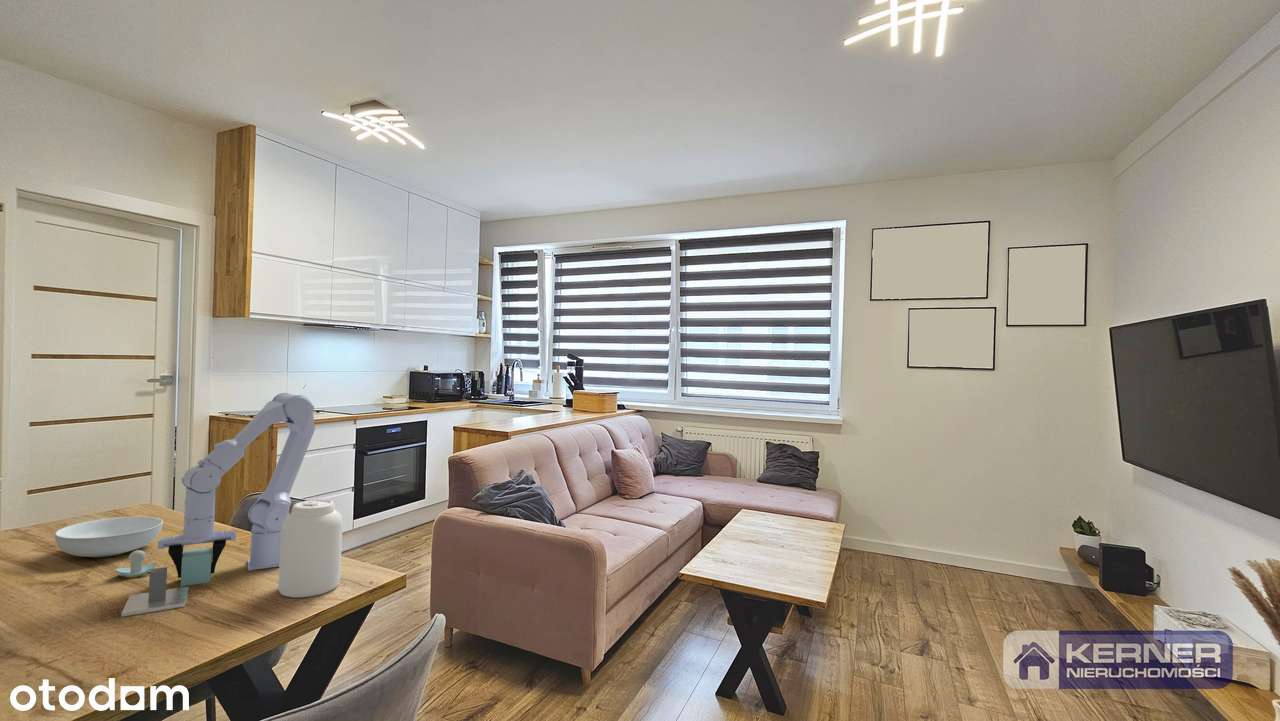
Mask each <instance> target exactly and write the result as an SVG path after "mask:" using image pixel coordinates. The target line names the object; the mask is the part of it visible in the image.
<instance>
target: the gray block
mask: <svg viewBox="0 0 1280 721" xmlns="http://www.w3.org/2000/svg"><path fill="white" fill-rule="evenodd" d="M167 574H168V567H167V566H165V567H158V568H154V569H151V572H149V581H148V585H149V586H148V592H143V593H136V594H135V593H134V594H130V595H129V597H128V599H127V601H126V603H125V605H124V607H123V609H122V611H121V614H120V615H121V618H122V617H128V616H129V617H130V616H136V615H141V614H142V615H143V614H149V613H155V612H160V611H166V610H172V609H178V608H184V607H186V606H185V605H186V602H187V597H188V595H189V592H190V587H189V586H181V587H175V588H169V589H167V578H168V575H167Z"/></svg>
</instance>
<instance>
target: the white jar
mask: <svg viewBox="0 0 1280 721" xmlns="http://www.w3.org/2000/svg"><path fill="white" fill-rule="evenodd" d="M335 506H336V505H335V504H334V501H332V500H329V499H309V500H305V501H300V502H297V503H294V504H293V506H292V509H291V512H289V515H288V516H287V517H286V518H285V519H284V521H283V524H282V527H281V543H280V563H279V566H278V567H279V570H278V583H277V584H278V589H277V590H278V592H279V593H280V595H282V596H284V597H287V598H309V597H316V596H320V595H323V594H326V593H328V592H331V591H332V590H335V589H336V588H337V587H339V584H340V581H341V569H342V568H341V565H342V564H341V563H342V544H343V523H344V522H343V520H344V519H343V516H342V514H341V513H340V512H339V511H338V510H336V509H335Z"/></svg>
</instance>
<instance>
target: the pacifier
mask: <svg viewBox="0 0 1280 721" xmlns="http://www.w3.org/2000/svg"><path fill="white" fill-rule="evenodd" d="M145 558H146V552H145V551H144V550H139V549H136V550H133V551H131V553H130V554H129V555H128V560H129V562H130V566H129V567H118V568H115V572H116V573H117V576H120V577H125V578H138V577H143V576H145V575H147V573H150V572H151V569H155V568H156V566H157V565H158V563H157V562H153V563H148V564H143V562H144V560H145Z"/></svg>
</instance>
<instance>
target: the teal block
mask: <svg viewBox="0 0 1280 721" xmlns="http://www.w3.org/2000/svg"><path fill="white" fill-rule="evenodd" d="M212 551H213V546H212V547H205V548H197V549H187V550H183V556H182V568H181V578H180V587H187V586H193V585H199V584H205V583H210V582H211V577H212V574H211V565H212Z"/></svg>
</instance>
